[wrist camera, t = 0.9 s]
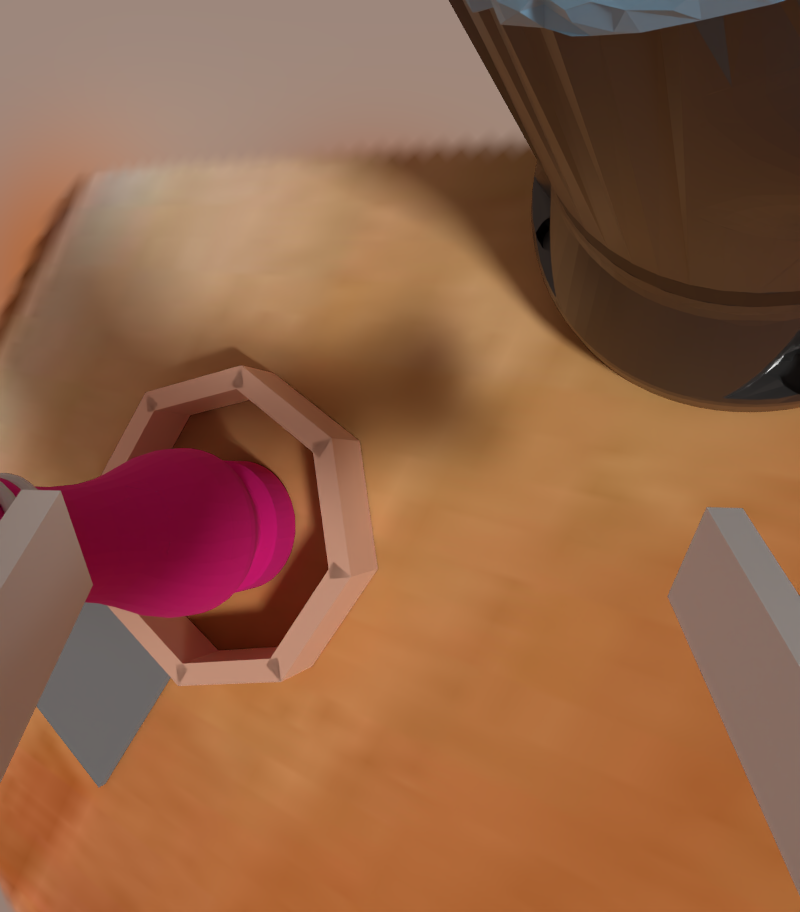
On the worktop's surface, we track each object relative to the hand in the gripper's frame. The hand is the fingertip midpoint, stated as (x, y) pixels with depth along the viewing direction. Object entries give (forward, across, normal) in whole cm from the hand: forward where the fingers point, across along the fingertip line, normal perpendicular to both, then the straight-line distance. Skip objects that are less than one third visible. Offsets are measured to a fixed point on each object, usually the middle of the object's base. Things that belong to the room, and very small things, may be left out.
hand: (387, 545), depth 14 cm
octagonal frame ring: (+14, -7, -13) cm, 20 cm away
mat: (+13, -17, -22) cm, 30 cm away
